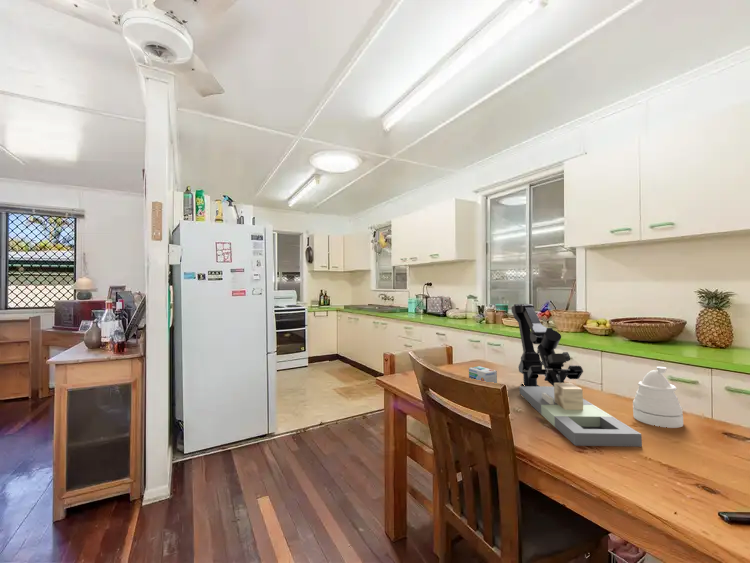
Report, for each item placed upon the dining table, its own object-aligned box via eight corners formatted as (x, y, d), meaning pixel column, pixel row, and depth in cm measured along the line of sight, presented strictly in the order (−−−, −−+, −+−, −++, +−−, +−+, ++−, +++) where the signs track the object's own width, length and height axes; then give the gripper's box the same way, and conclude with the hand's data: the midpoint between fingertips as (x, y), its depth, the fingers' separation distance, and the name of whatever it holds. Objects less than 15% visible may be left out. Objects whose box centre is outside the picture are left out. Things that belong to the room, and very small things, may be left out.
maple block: (554, 401, 123) (553, 382, 123) (571, 402, 122) (570, 382, 122) (564, 409, 115) (564, 389, 115) (583, 409, 114) (582, 389, 114)
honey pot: (692, 423, 109) (689, 368, 109) (668, 430, 104) (665, 372, 105) (647, 411, 121) (645, 360, 121) (624, 416, 116) (622, 364, 117)
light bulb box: (468, 391, 149) (467, 367, 149) (480, 389, 151) (479, 365, 152) (486, 398, 139) (485, 372, 139) (498, 396, 142) (497, 370, 142)
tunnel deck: (519, 394, 143) (519, 381, 143) (563, 394, 141) (563, 381, 141) (575, 445, 96) (574, 426, 96) (642, 446, 94) (641, 426, 94)
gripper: (528, 344, 129) (541, 381, 118) (579, 344, 128) (597, 381, 116) (522, 361, 137) (534, 396, 126) (570, 360, 135) (586, 396, 124)
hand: (562, 392), depth 123 cm, fingers closed, pressing on maple block
